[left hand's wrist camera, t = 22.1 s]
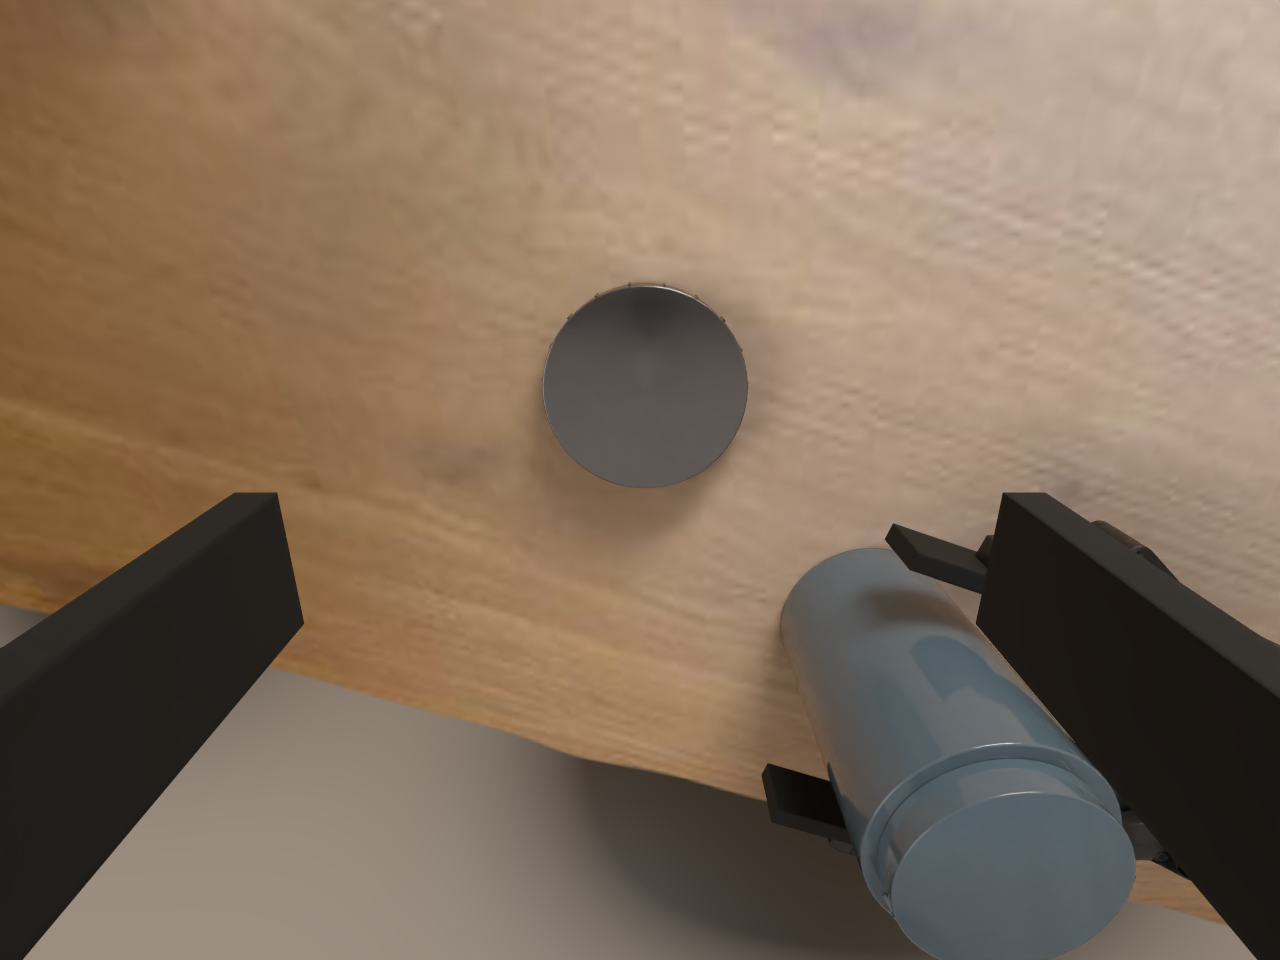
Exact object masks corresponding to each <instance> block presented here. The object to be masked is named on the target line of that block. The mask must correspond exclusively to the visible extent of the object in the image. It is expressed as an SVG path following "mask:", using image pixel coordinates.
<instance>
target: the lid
mask: <svg viewBox="0 0 1280 960" xmlns="http://www.w3.org/2000/svg"><path fill="white" fill-rule="evenodd" d="M567 319H568V321H567V322H566V323H565V325H564V326H563V327H562V329H561V330H560V331H559V333H558V334H557V336H556V338H555V340H554V342H553V343H552V344H551V345H550V347H549V348H550V351H549V353H548V356H547V359H546V364H545V368H544V374H543V378H542V381H543V400H544V406H545V411H546V414H547V417H548V421H549V424H550V426H551V428H552V430H553V432H554V434H555V436H556V438H557V439H558V441H559V442H560V444H561V446H562V447H563V448H564V449H565V450H566V452H567V453H568V454H569V455H570V456H571V457H572V458H573V459H574V460H575V461H576V462H577V463H578V464H579V465H581V466H582V467H583V468H585V469H586V470H588V471H589V472H591V473H592V474H594V475H596V476H598V477H600V478H602V479H604V480H607V481H609V482H612V483H615V484H619V485H623V486H628V487H636V488H653V487H662V486H667V485H671V484H675V483H678V482H681V481H683V480H686V479H688V478H690V477H692V476H694V475H696V474H698V473H699V472H701V471H702V470H704V469H705V468H707V467H708V466H709V465H711V464H712V463H713V462H714V461H715V460H716V459H717V458H718V457H719V456H720V455H721V454H722V453H723V452H724V451H725V449H726V448H727V447H728V445H729V444H730V442H731V441H732V439H733V438H734V436H735V434H736V432H737V430H738V428H739V426H740V424H741V421H742V418H743V415H744V412H745V407H746V402H747V390H748V381H747V372H746V367H745V362H744V358H743V355H742V349H741V348H740V346H739V345H738V343H737V341H736V339H735V337H734V335H733V334H732V332H731V331H730V329H729V328H728V327H727V325H726V324H725V323H724V322H725V320H724V318H723V317H722V316H721V317H719V316H718V315H717V314H716V313H715V312H714V311H713V310H712V309H711V308H710V307H708V306H707V305H706V304H705V303H704V302H702V301H701V300H699V297H698V296H697V295H695V296H693V295H691V294H689V293H687V292H684V291H682V290H680V289H677V288H673V287H670V286H667V285H666V284H665V283H663V285H660V284H653V283H638V284H631V282H629V283H628V285H624V286H621V287H617V288H613V289H611V290H608V291H606V292H604V293H601V294H599V293H597V294H596V295H595V297H594V298H593V299H591V300H589V301H588V302H587V303H586V304H584V305H583V306H582V307H580V308H579V309H578V310H577V311H576V312H575V313H574V314H573V315H572V314H570V316H569V317H568V318H567Z"/></svg>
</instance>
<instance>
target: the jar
mask: <svg viewBox="0 0 1280 960" xmlns="http://www.w3.org/2000/svg"><path fill="white" fill-rule="evenodd" d="M781 637H782V641H783V645H784V648H785V651H786V654H787V657H788V660H789V663H790V665H791V668H792V671H793V674H794V677H795V680H796V683H797V686H798V689H799V692H800V694H801V697H802V700H803V703H804V706H805V709H806V712H807V715H808V718H809V721H810V723H811V726H812V729H813V732H814V735H815V738H816V741H817V744H818V747H819V750H820V752H821V755H822V758H823V761H824V764H825V767H826V770H827V773H828V776H829V779H830V781H831V784H832V787H833V790H834V793H835V796H836V799H837V802H838V805H839V808H840V810H841V813H842V816H843V819H844V822H845V825H846V828H847V831H848V834H849V837H850V839H851V842H852V845H853V848H854V851H855V854H856V857H857V860H858V863H859V866H860V868H861V871H862V874H863V877H864V879H865V882H866V884H867V887H868V888H869V890H870V892H871V893H872V895H873V897H874V898H875V899H876V900H877V901H878V902H879V904H880V905H881V906H882V907H883V908H884V909H885V910H886V911H888V912H889V913H890V914H891V915H892V916H893V918H894V919H895V920H896V921H897V923H898V925H899V926H900V928H901V929H902V931H903V932H904V934H905V935H906V936H907V937H908V938H909V939H910V940H911V941H912V942H913V943H914V944H915V945H916V946H918V947H919V948H920V949H921V950H923V951H925V952H926V953H928V954H930V955H931V956H934V957H936V958H938V959H940V960H1048V959H1051V958H1054V957H1057V956H1059V955H1061V954H1063V953H1066V952H1068V951H1070V950H1072V949H1074V948H1076V947H1077V946H1079V945H1081V944H1083V943H1084V942H1086V941H1087V940H1089V939H1090V938H1091V937H1093V936H1094V935H1096V934H1097V933H1098V932H1099V931H1100V930H1102V929H1103V928H1104V927H1105V926H1106V925H1107V924H1108V923H1109V922H1110V921H1111V920H1112V919H1113V918H1114V916H1115V915H1116V914H1117V913H1118V911H1119V910H1120V909H1121V907H1122V906H1123V904H1124V903H1126V902H1127V899H1128V897H1129V894H1130V891H1131V888H1132V886H1133V883H1134V880H1135V877H1136V876H1135V870H1136V869H1135V854H1134V850H1133V845H1132V843H1131V841H1130V838H1129V836H1128V834H1127V833H1126V831H1125V830H1124V828H1123V827H1122V816H1121V811H1120V806H1119V802H1118V800H1117V798H1116V795H1115V793H1114V791H1113V789H1112V788H1111V786H1110V785H1109V783H1108V781H1107V780H1106V779H1105V778H1104V776H1103V775H1102V774H1101V773H1100V772H1099V771H1098V769H1097V768H1096V767H1095V766H1094V765H1093V764H1092V762H1091V761H1090V760H1089V759H1088V758H1087V756H1086V755H1085V754H1084V753H1083V752H1082V751H1081V749H1080V748H1079V747H1078V746H1077V745H1076V744H1075V742H1074V741H1073V740H1072V739H1071V738H1070V737H1069V735H1068V734H1067V733H1066V732H1065V731H1064V730H1063V728H1062V727H1061V726H1060V725H1059V724H1058V723H1057V721H1056V720H1055V719H1054V718H1053V717H1052V716H1051V714H1050V713H1049V712H1048V711H1047V710H1046V708H1045V707H1044V706H1043V705H1042V704H1041V703H1040V701H1039V700H1038V699H1037V698H1036V697H1035V696H1034V694H1033V693H1032V692H1031V691H1030V690H1029V689H1028V687H1027V686H1026V685H1025V684H1024V683H1023V682H1022V680H1021V679H1020V678H1019V677H1018V676H1017V675H1016V673H1015V672H1014V671H1013V670H1012V669H1011V668H1010V666H1009V665H1008V664H1007V663H1006V662H1005V660H1004V659H1003V658H1002V657H1001V656H1000V655H999V653H998V652H997V651H996V650H995V649H994V648H993V646H992V645H991V644H990V643H989V642H988V641H987V639H986V638H985V637H984V636H983V635H982V634H981V632H980V631H979V630H978V629H977V628H976V627H975V625H974V624H973V623H972V622H971V621H970V620H969V618H968V617H967V616H966V615H965V614H964V612H963V611H962V610H961V609H960V608H959V607H958V605H957V604H956V603H955V602H954V601H953V600H952V598H951V597H950V596H949V595H948V594H947V593H946V591H945V590H944V589H943V588H942V587H941V586H940V584H939V583H938V582H937V581H936V580H935V579H934V578H932V577H929V576H926V575H923V574H920V573H917V572H914V571H911V570H909V569H908V568H907V566H906V565H905V564H904V563H903V561H902V560H901V559H900V558H899V556H898V555H897V554H896V553H895V552H893V551H890V550H883V549H858V550H852V551H848V552H844V553H841V554H838V555H835V556H833V557H831V558H829V559H826V560H824V561H823V562H821V563H819V564H818V565H816V566H815V567H813V568H812V569H811V570H810V571H808V572H807V573H806V574H805V575H804V576H803V577H802V578H801V579H800V580H799V581H798V583H797V584H796V585H795V587H794V588H793V589H792V591H791V593H790V595H789V596H788V598H787V601H786V603H785V606H784V608H783V613H782V617H781Z"/></svg>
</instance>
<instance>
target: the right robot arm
mask: <svg viewBox="0 0 1280 960" xmlns="http://www.w3.org/2000/svg"><path fill="white" fill-rule="evenodd" d="M1092 524H1093V525H1095V526H1096V527H1098V528H1099V529H1101V530H1102V531H1104V532H1105V533H1107V534H1108V535H1110V536H1111V537H1113V538H1114V539H1116V540H1117V541H1119V542H1120V543H1122V544H1123V545H1125V546H1126V547H1128V548H1129V549H1131V550H1132V551H1134V552H1135V553H1137V554H1138V555H1140V556H1141V557H1143V558H1144V559H1146V560H1147V561H1149V562H1150V563H1152V564H1153V565H1155V566H1156V567H1158V568H1159V569H1161V570H1162V571H1164V572H1165V573H1167V574H1168V575H1170V576H1171V577H1173V578H1174V579H1176V577H1175V576H1174V575H1173V574H1172V573H1171V572H1170V571H1169V570H1168V568H1167V567H1166V566H1165V565H1164V564H1163V563H1162V562H1161V561H1160V560H1159V558H1158V557H1157V556H1156V555H1155V554H1154V553H1153V552H1152V551H1151V550H1150V549H1149V548H1147V547H1145V546H1144V545H1142V544H1141V543H1139V542H1138V541H1136V540H1134V539H1133V538H1131V537H1130V536H1128V535H1126V534H1125V533H1123V532H1121V531H1120V530H1118V529H1117V528H1115V527H1113V526H1111V525H1110V524H1108V523H1106V522H1105V521H1094V522H1092ZM993 538H994V535H987V536H986V538H985V540H984V541H983V543H982V545H981V547H980V548H979V550H978V552H976V551H973V550H970V549H967V548H964V547H961V546H958V545H955V544H952V543H949V542H946V541H943V540H940V539H938V538H935V537H932V536H929V535H926V534H923V533H920V532H917V531H914V530H911V529H908V528H905V527H902V526H899V525H896V524H893V525H892V527H891V528H890V530H889V532H888V534H887V536H886V538H885V540H886V541H887V543H888V544H889V545H890V546H891V548H892V549H893V550H894V551H895V553H896V554H897V555H898V556H899V558H900V559H901V560H902V561H903V563H904V564H905V565H906V566H907V568H908V569H909V570H911V571H914V572H917V573H920V574H923V575H926V576H929V577H932V578H935V579H938V580H941V581H944V582H947V583H950V584H953V585H956V586H959V587H962V588H965V589H968V590H971V591H974V592H977V593H980V594H982V591H983V587H984V582H985V577H986V572H987V567H988V562H989V558H990V553H991V548H992V543H993ZM1176 580H1177V579H1176ZM1177 581H1178V580H1177ZM1075 744H1076V743H1075ZM1076 745H1077V744H1076ZM1077 746H1078V745H1077ZM1078 747H1079V746H1078ZM1079 748H1080V747H1079ZM1081 751H1082V750H1081ZM1082 752H1083V751H1082ZM1083 753H1084V752H1083ZM1084 754H1085V753H1084ZM1085 755H1086V754H1085ZM1087 758H1088V757H1087ZM1088 759H1089V758H1088ZM1089 760H1090V759H1089ZM1090 761H1091V760H1090ZM1092 764H1093V763H1092ZM1093 765H1094V764H1093ZM1094 766H1095V765H1094ZM1095 767H1096V766H1095ZM1098 771H1099V770H1098ZM1099 772H1100V771H1099ZM1100 773H1101V772H1100ZM1104 778H1105V777H1104ZM1105 779H1106V778H1105ZM762 780H763V784H764V789H765V793H766V798H767V802H768V807H769V811H770V816H771V821H772V822H773V823H776V824H780V825H784V826H787V827H790V828H794V829H798V830H801V831H805V832H808V833H812V834H815V835H819V836H822V837H826V838H828V841H829V844H830V845H831V846H832V847H833V848H835V849H836V850H838V851H840V852H844V853H847V854H849V853H850V854H851V855H855V856H856V854H855V851H854V848H853V845H852V842H851V839H850V837H849V834H848V831H847V828H846V825H845V822H844V819H843V816H842V813H841V810H840V808H839V805H838V802H837V799H836V796H835V793H834V790H833V787H832V784H831V781H827V780H824V779H820V778H817V777H813V776H810V775H807V774H803V773H800V772H796V771H793V770H789V769H786V768H782V767H779V766H776V765H772V764H769V763H768V764H767V766H766V768H765V770H764V771H763V773H762ZM1108 783H1109V782H1108ZM1109 785H1110V786H1111V784H1110V783H1109ZM1111 788H1112V789H1113V791H1114V793H1115V795H1116V798H1117V800H1118V802H1119V806H1120V811H1121V816H1122V827H1123V828H1124V830H1125V831H1126V833H1127V834H1128V836H1129V838H1130V841H1131V843H1132V845H1133V850H1134V854H1135V860H1150V861H1153V862H1155V863H1157V864H1159V865H1161V866H1163V867H1165V868H1166V869H1168V870H1170V871H1172V872H1174V873H1176V874H1178V875H1180V876H1182V877H1184V878H1186V879H1188V880H1190V879H1189V877H1188V876H1187V875H1186V874H1185V873H1184V872H1183V870H1182V869H1181V868H1180V867H1179V866H1178V864H1177V863H1176V862H1175V861H1174V860H1173V858H1172V857H1171V856H1170V855H1169V854H1168V852H1167V851H1166V850H1165V849H1164V848H1163V846H1162V845H1161V844H1160V843H1159V842H1158V840H1157V839H1156V838H1155V837H1154V836H1153V834H1152V833H1151V832H1150V831H1149V830H1148V829H1147V827H1146V826H1145V825H1144V824H1143V823H1142V821H1141V820H1140V819H1139V818H1138V817H1137V815H1136V814H1135V813H1134V812H1133V811H1132V809H1131V808H1130V807H1129V806H1128V805H1127V803H1126V802H1125V801H1124V800H1123V799H1122V797H1121V796H1120V795H1119V794H1118V793H1117V792H1116V790H1115V789H1114V788H1113V787H1112V786H1111ZM1190 881H1191V880H1190Z"/></svg>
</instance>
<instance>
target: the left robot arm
mask: <svg viewBox="0 0 1280 960" xmlns="http://www.w3.org/2000/svg"><path fill="white" fill-rule="evenodd" d="M303 624H304V620H303V616H302V611H301V606H300V601H299V596H298V591H297V587H296V582H295V577H294V572H293V567H292V562H291V558H290V553H289V548H288V543H287V538H286V533H285V529H284V524H283V519H282V514H281V509H280V504H279V500H278V495H277V493H233V494H232V495H230V496H229V497H227V498H226V499H224V500H223V501H221V502H220V503H218V504H217V505H215V506H214V507H212V508H211V509H209V510H208V511H206V512H205V513H203V514H202V515H200V516H199V517H197V518H196V519H194V520H193V521H191V522H190V523H188V524H187V525H185V526H184V527H182V528H181V529H179V530H178V531H176V532H175V533H173V534H172V535H170V536H169V537H167V538H166V539H164V540H163V541H161V542H160V543H158V544H157V545H155V546H154V547H152V548H151V549H149V550H148V551H146V552H145V553H143V554H142V555H140V556H139V557H137V558H136V559H134V560H133V561H131V562H130V563H128V564H127V565H125V566H124V567H122V568H121V569H119V570H118V571H116V572H115V573H113V574H112V575H110V576H109V577H107V578H106V579H104V580H103V581H101V582H100V583H98V584H97V585H95V586H94V587H92V588H91V589H89V590H88V591H86V592H85V593H83V594H82V595H80V596H79V597H77V598H76V599H74V600H73V601H71V602H70V603H68V604H67V605H65V606H64V607H62V608H61V609H59V610H58V611H56V612H55V613H53V614H52V615H50V616H49V617H48V618H46V619H44V620H43V621H41V622H40V623H39V624H37V625H36V626H34V627H33V628H31V629H29V630H28V631H26V632H25V633H24V634H22V635H21V636H19V637H18V638H16V639H14V640H13V641H11V642H10V643H8V644H7V645H5V646H4V647H2V648H0V960H23V959H24V957H25V956H26V955H27V954H28V953H29V952H30V950H31V949H32V948H33V947H34V946H35V944H36V943H37V942H38V941H39V940H40V938H41V937H42V936H43V935H44V934H45V932H46V931H47V930H48V929H49V928H50V926H51V925H52V924H53V923H54V922H55V920H56V919H57V918H58V917H59V916H60V915H61V913H62V912H63V911H64V910H65V909H66V907H67V906H68V905H69V904H70V903H71V901H72V900H73V899H74V898H75V897H76V895H77V894H78V893H79V892H80V891H81V889H82V888H83V887H84V886H85V885H86V883H87V882H88V881H89V880H90V879H91V877H92V876H93V875H94V874H95V873H96V871H97V870H98V869H99V868H100V867H101V866H102V864H103V863H104V862H105V861H106V860H107V858H108V857H109V856H110V855H111V854H112V852H113V851H114V850H115V849H116V848H117V846H118V845H119V844H120V843H121V842H122V840H123V839H124V838H125V837H126V836H127V834H128V833H129V832H130V831H131V830H132V828H133V827H134V826H135V825H136V824H137V823H138V821H139V820H140V819H141V818H142V817H143V815H144V814H145V813H146V812H147V811H148V809H149V808H150V807H151V806H152V805H153V803H154V802H155V801H156V800H157V799H158V797H159V796H160V795H161V794H162V793H163V791H164V790H165V789H166V788H167V787H168V786H169V784H170V783H171V782H172V781H173V780H174V778H175V777H176V776H177V775H178V774H179V772H180V771H181V770H182V769H183V768H184V766H185V765H186V764H187V763H188V762H189V760H190V759H191V758H192V757H193V756H194V754H195V753H196V752H197V751H198V750H199V748H200V747H201V746H202V745H203V744H204V743H205V741H206V740H207V739H208V738H209V737H210V735H211V734H212V733H213V732H214V731H215V729H216V728H217V727H218V726H219V725H220V723H221V722H222V721H223V720H224V719H225V717H226V716H227V715H228V714H229V713H230V711H231V710H232V709H233V708H234V707H235V705H236V704H237V703H238V702H239V701H240V700H241V698H242V697H243V696H244V695H245V694H246V692H247V691H248V690H249V689H250V688H251V686H252V685H253V684H254V683H255V682H256V680H257V679H258V678H259V677H260V676H261V674H262V673H263V672H264V671H265V670H266V668H267V667H268V666H269V665H270V664H271V663H272V661H273V660H274V659H275V658H276V657H277V655H278V654H279V653H280V652H281V651H282V649H283V648H284V647H285V646H286V645H287V643H288V642H289V641H290V640H291V639H292V637H293V636H294V635H295V634H296V633H297V631H298V630H299V629H300V628H301V627H302V626H303ZM976 624H977V626H978V627H979V628H980V629H981V630H982V631H983V633H984V634H985V635H986V636H987V637H988V639H989V640H990V641H991V642H992V643H993V645H994V646H995V647H996V648H997V649H998V651H999V652H1000V653H1001V654H1002V655H1003V657H1004V658H1005V659H1006V660H1007V661H1008V663H1009V664H1010V665H1011V666H1012V667H1013V668H1014V670H1015V671H1016V672H1017V673H1018V674H1019V676H1020V677H1021V678H1022V679H1023V680H1024V682H1025V683H1026V684H1027V685H1028V686H1029V688H1030V689H1031V690H1032V691H1033V692H1034V694H1035V695H1036V696H1037V697H1038V698H1039V700H1040V701H1041V702H1042V703H1043V704H1044V706H1045V707H1046V708H1047V709H1048V710H1049V711H1050V713H1051V714H1052V715H1053V716H1054V717H1055V719H1056V720H1057V721H1058V722H1059V723H1060V725H1061V726H1062V727H1063V728H1064V729H1065V731H1066V732H1067V733H1068V734H1069V735H1070V737H1071V738H1072V739H1073V740H1074V741H1075V743H1076V744H1077V745H1078V746H1079V747H1080V749H1081V750H1082V751H1083V752H1084V753H1085V754H1086V756H1087V757H1088V758H1089V759H1090V760H1091V762H1092V763H1093V764H1094V765H1095V766H1096V768H1097V769H1098V770H1099V771H1100V772H1101V774H1102V775H1103V776H1104V777H1105V778H1106V780H1107V781H1108V782H1109V783H1110V784H1111V786H1112V787H1113V788H1114V789H1115V790H1116V792H1117V793H1118V794H1119V795H1120V796H1121V797H1122V799H1123V800H1124V801H1125V802H1126V803H1127V805H1128V806H1129V807H1130V808H1131V809H1132V811H1133V812H1134V813H1135V814H1136V815H1137V817H1138V818H1139V819H1140V820H1141V821H1142V823H1143V824H1144V825H1145V826H1146V827H1147V829H1148V830H1149V831H1150V832H1151V833H1152V834H1153V836H1154V837H1155V838H1156V839H1157V840H1158V842H1159V843H1160V844H1161V845H1162V846H1163V848H1164V849H1165V850H1166V851H1167V852H1168V854H1169V855H1170V856H1171V857H1172V858H1173V860H1174V861H1175V862H1176V863H1177V864H1178V866H1179V867H1180V868H1181V869H1182V870H1183V872H1184V873H1185V874H1186V875H1187V876H1188V877H1189V879H1190V880H1191V881H1192V882H1193V883H1194V885H1195V886H1196V887H1197V888H1198V889H1199V891H1200V892H1201V893H1202V894H1203V895H1204V897H1205V898H1206V899H1207V900H1208V901H1209V903H1210V904H1211V905H1212V906H1213V907H1214V909H1215V910H1216V911H1217V912H1218V913H1219V915H1220V916H1221V917H1222V918H1223V919H1224V920H1225V922H1226V923H1227V924H1228V925H1229V926H1230V928H1231V929H1232V930H1233V931H1234V932H1235V934H1236V935H1237V936H1238V937H1239V938H1240V940H1241V941H1242V942H1243V943H1244V944H1245V946H1246V947H1247V948H1248V949H1249V950H1250V951H1251V953H1252V954H1253V955H1254V956H1255V957H1256V959H1257V960H1280V645H1278V644H1276V643H1274V642H1272V641H1270V640H1267V639H1265V638H1263V637H1261V636H1260V635H1258V634H1257V633H1255V632H1254V631H1252V630H1251V629H1249V628H1248V627H1246V626H1245V625H1243V624H1242V623H1240V622H1239V621H1237V620H1236V619H1234V618H1233V617H1231V616H1230V615H1228V614H1227V613H1225V612H1224V611H1222V610H1221V609H1219V608H1218V607H1216V606H1215V605H1213V604H1212V603H1210V602H1209V601H1207V600H1206V599H1204V598H1203V597H1201V596H1200V595H1198V594H1197V593H1195V592H1194V591H1192V590H1191V589H1189V588H1188V587H1186V586H1185V585H1183V584H1182V583H1180V582H1179V581H1177V580H1176V579H1174V578H1173V577H1171V576H1170V575H1168V574H1167V573H1165V572H1164V571H1162V570H1161V569H1159V568H1158V567H1156V566H1155V565H1153V564H1152V563H1150V562H1149V561H1147V560H1146V559H1144V558H1143V557H1141V556H1140V555H1138V554H1137V553H1135V552H1134V551H1132V550H1131V549H1129V548H1128V547H1126V546H1125V545H1123V544H1122V543H1120V542H1119V541H1117V540H1116V539H1114V538H1113V537H1111V536H1110V535H1108V534H1107V533H1105V532H1104V531H1102V530H1101V529H1099V528H1098V527H1096V526H1095V525H1093V524H1092V523H1090V522H1089V521H1087V520H1086V519H1084V518H1083V517H1081V516H1080V515H1078V514H1077V513H1075V512H1074V511H1072V510H1071V509H1069V508H1068V507H1066V506H1065V505H1063V504H1062V503H1060V502H1059V501H1057V500H1056V499H1054V498H1053V497H1051V496H1050V495H1048V494H1047V493H1003V495H1002V500H1001V504H1000V509H999V514H998V519H997V524H996V529H995V533H994V538H993V543H992V548H991V553H990V558H989V562H988V567H987V572H986V577H985V582H984V587H983V591H982V596H981V601H980V606H979V611H978V616H977V620H976Z"/></svg>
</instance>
